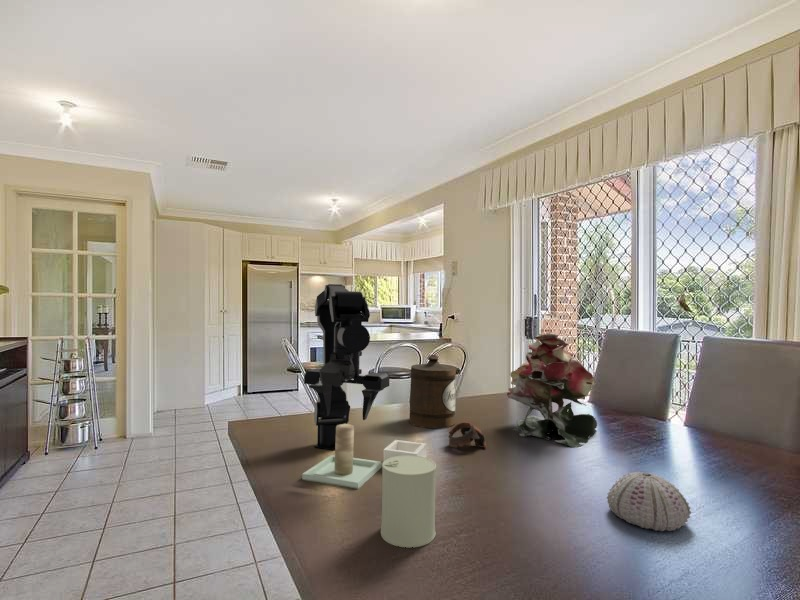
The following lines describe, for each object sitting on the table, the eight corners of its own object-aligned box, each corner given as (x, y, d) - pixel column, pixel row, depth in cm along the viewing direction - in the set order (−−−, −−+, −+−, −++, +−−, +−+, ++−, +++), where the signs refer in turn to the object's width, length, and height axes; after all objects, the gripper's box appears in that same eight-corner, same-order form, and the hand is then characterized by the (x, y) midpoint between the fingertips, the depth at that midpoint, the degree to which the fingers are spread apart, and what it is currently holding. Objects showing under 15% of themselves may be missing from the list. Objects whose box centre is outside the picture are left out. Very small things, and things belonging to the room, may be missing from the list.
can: (379, 520, 79) (380, 452, 80) (431, 519, 80) (432, 452, 80) (381, 548, 70) (382, 472, 70) (439, 547, 71) (441, 471, 71)
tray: (302, 483, 95) (302, 473, 95) (331, 463, 107) (331, 454, 108) (358, 492, 91) (358, 482, 91) (381, 470, 103) (382, 461, 103)
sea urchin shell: (655, 543, 73) (655, 494, 73) (590, 508, 86) (590, 466, 86) (707, 528, 78) (708, 482, 79) (639, 497, 91) (639, 458, 91)
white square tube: (383, 471, 103) (383, 449, 103) (395, 460, 110) (395, 439, 110) (416, 476, 100) (416, 454, 100) (426, 464, 107) (426, 443, 107)
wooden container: (457, 429, 139) (458, 357, 139) (409, 428, 139) (410, 357, 139) (452, 417, 154) (453, 352, 154) (409, 416, 154) (410, 352, 154)
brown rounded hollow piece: (492, 457, 115) (478, 431, 113) (458, 471, 116) (444, 446, 114) (485, 432, 126) (473, 408, 125) (455, 445, 128) (442, 422, 126)
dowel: (331, 473, 98) (332, 427, 98) (339, 467, 102) (341, 423, 102) (347, 476, 97) (349, 429, 97) (355, 470, 100) (357, 425, 101)
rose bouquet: (600, 426, 145) (601, 333, 145) (583, 450, 120) (585, 338, 120) (521, 414, 158) (522, 329, 158) (492, 434, 133) (493, 333, 134)
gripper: (290, 348, 95) (289, 422, 95) (371, 353, 89) (369, 431, 89) (317, 344, 106) (315, 410, 106) (390, 348, 100) (389, 418, 100)
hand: (345, 417), depth 100 cm, fingers open, 9 cm apart
